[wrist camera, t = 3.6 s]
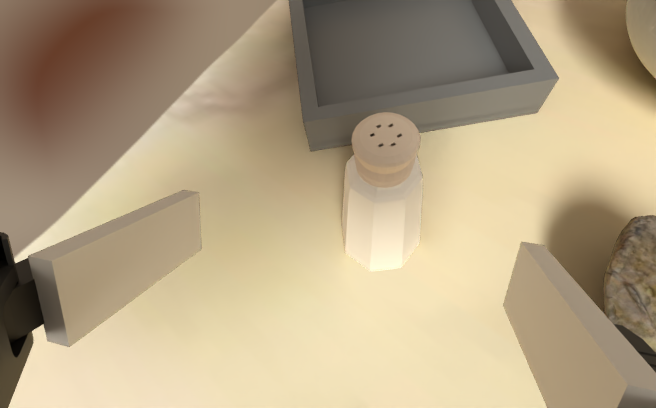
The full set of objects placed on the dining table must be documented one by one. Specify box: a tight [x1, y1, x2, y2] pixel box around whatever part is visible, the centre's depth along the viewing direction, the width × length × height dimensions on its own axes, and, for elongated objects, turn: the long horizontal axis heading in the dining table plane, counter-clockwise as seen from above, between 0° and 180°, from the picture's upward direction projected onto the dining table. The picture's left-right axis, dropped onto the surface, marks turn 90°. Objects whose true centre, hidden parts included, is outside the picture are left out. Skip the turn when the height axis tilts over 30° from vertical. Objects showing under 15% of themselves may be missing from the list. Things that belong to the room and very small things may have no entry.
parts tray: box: [289, 0, 559, 151], centre depth 30 cm, size 18×18×4 cm
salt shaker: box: [342, 112, 423, 272], centre depth 19 cm, size 5×5×11 cm
